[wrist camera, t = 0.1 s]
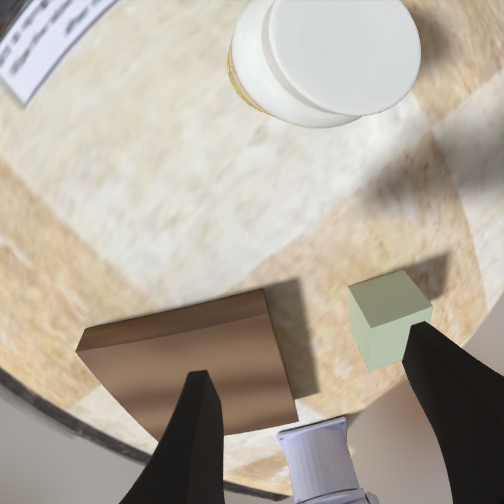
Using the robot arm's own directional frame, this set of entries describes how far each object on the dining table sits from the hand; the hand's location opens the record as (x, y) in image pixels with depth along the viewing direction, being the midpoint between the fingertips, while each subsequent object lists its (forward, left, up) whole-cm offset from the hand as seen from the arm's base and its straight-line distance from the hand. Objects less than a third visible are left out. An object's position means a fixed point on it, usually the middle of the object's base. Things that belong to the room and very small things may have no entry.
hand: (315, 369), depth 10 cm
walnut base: (-10, +8, -10) cm, 17 cm away
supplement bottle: (+10, -3, -10) cm, 14 cm away
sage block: (-7, -7, -10) cm, 14 cm away
